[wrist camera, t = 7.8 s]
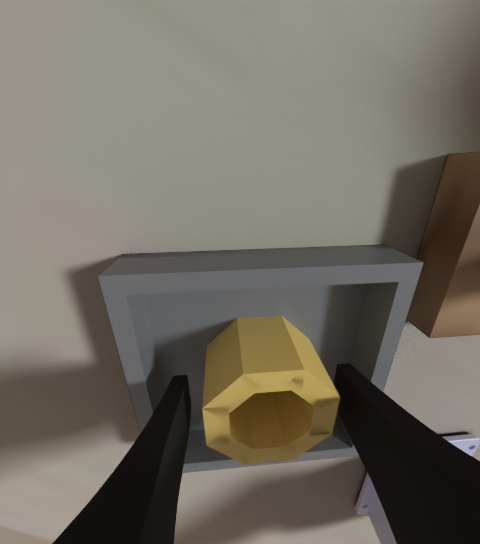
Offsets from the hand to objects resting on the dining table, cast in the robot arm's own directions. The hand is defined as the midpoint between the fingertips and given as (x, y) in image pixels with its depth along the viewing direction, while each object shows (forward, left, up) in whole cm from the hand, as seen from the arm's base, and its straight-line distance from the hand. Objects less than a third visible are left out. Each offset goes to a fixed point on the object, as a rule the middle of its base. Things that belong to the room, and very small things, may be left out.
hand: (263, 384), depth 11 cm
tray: (0, 0, -2) cm, 2 cm away
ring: (0, 0, -2) cm, 2 cm away
